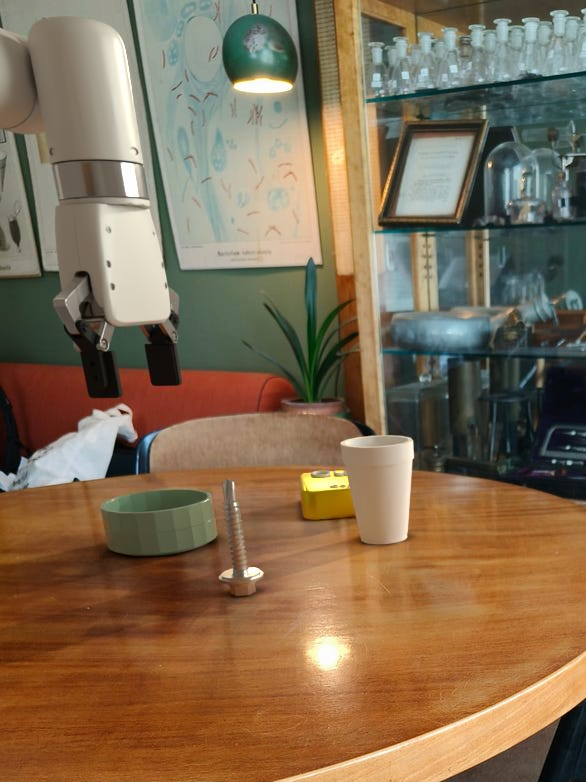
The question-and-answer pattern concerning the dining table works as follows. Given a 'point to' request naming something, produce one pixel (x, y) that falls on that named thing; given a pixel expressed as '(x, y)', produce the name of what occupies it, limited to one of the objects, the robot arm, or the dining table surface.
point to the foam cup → (380, 485)
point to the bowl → (159, 521)
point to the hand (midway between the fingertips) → (138, 391)
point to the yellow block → (326, 495)
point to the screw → (237, 548)
